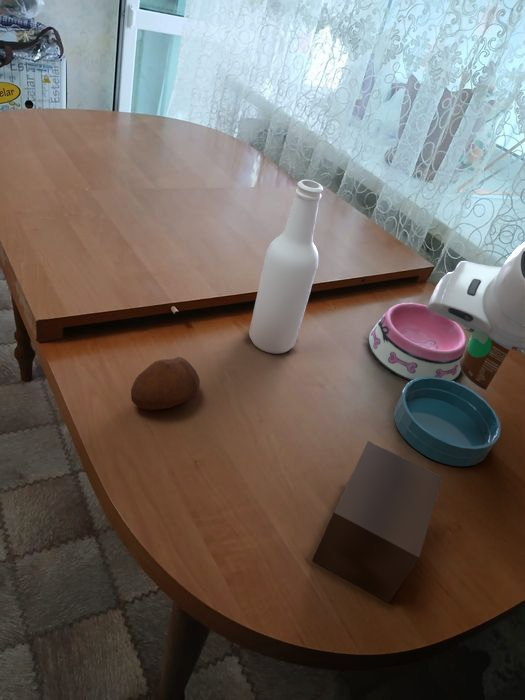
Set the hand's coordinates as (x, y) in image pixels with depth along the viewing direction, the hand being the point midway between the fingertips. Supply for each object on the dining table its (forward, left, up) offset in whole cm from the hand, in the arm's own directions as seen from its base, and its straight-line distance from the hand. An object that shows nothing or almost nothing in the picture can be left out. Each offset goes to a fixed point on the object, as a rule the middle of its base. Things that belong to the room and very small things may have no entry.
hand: (493, 335), depth 78 cm
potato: (+39, +23, -20) cm, 49 cm away
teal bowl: (0, +1, -19) cm, 19 cm away
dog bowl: (+9, -17, -20) cm, 28 cm away
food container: (+1, +1, -6) cm, 6 cm away
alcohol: (+33, -2, -20) cm, 39 cm away
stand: (+5, +28, -19) cm, 34 cm away
